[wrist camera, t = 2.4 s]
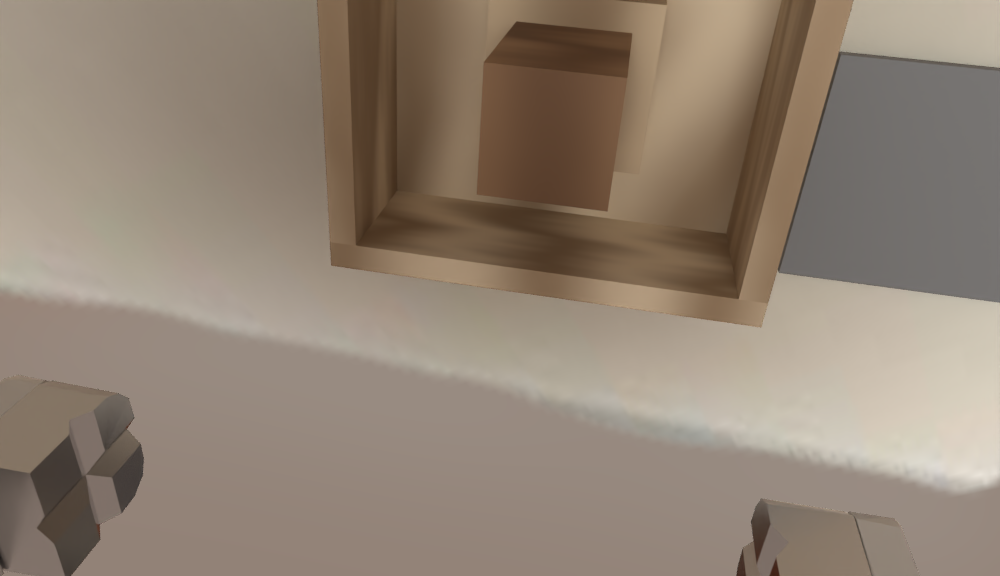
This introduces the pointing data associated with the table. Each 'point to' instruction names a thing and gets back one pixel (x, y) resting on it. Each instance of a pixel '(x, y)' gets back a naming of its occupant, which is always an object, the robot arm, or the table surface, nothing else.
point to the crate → (639, 157)
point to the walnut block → (552, 114)
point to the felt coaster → (903, 179)
